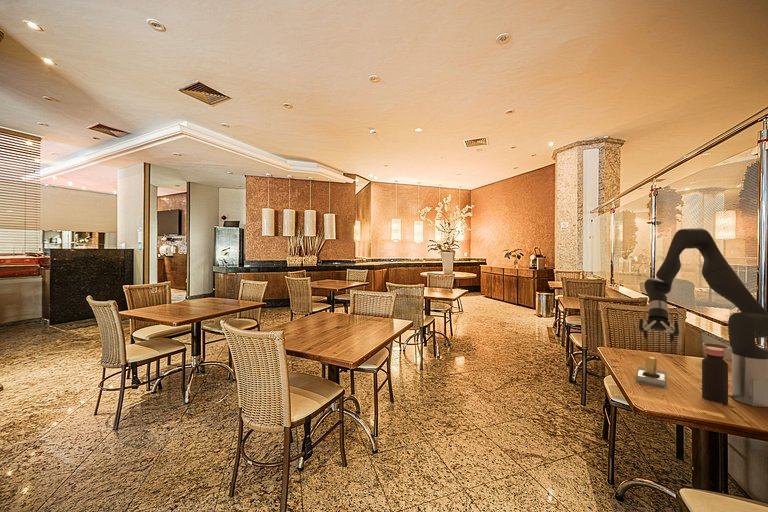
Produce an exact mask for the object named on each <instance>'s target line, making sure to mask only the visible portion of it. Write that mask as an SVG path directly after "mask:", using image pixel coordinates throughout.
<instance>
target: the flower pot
mask: <svg viewBox="0 0 768 512" xmlns="http://www.w3.org/2000/svg"><path fill="white" fill-rule="evenodd" d="M702 346H703V349H704V350H705V347H717V348H721V349H724V357H723V360H724V361H725V362H726V359H727V355H728V352H729V349H730V346H727V345H724V344H720V343H714V342H713V343H712V342H711V343H710V342H703V343H702ZM704 354H705V357H707V355H706V353H704Z"/></svg>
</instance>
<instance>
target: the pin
mask: <svg viewBox="0 0 768 512" xmlns="http://www.w3.org/2000/svg"><path fill="white" fill-rule="evenodd" d="M644 368H645V376H648V377H654V378H657V370H658V358H657V357H655V356H653V355H651V356H650V355H645V356H644Z"/></svg>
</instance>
